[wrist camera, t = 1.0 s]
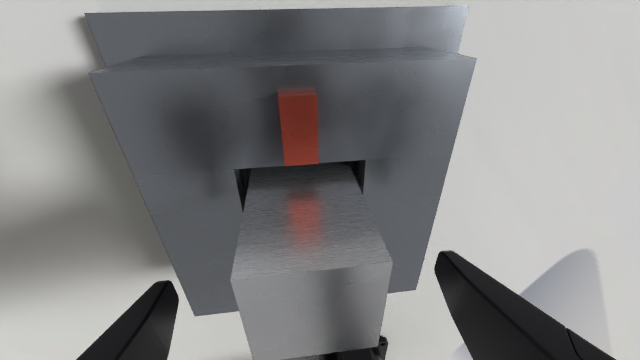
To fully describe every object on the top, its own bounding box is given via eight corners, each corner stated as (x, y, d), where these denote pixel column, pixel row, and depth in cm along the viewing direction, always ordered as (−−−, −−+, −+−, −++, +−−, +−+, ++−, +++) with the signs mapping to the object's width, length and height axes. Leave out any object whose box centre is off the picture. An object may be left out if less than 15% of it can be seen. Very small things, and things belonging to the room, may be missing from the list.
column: (337, 203, 16) (380, 347, 9) (264, 210, 15) (251, 365, 9) (339, 136, 14) (397, 259, 7) (254, 141, 13) (225, 277, 6)
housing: (407, 248, 20) (440, 312, 16) (195, 271, 19) (169, 347, 14) (458, 6, 12) (553, 3, 8) (96, 13, 11) (-24, 13, 6)
